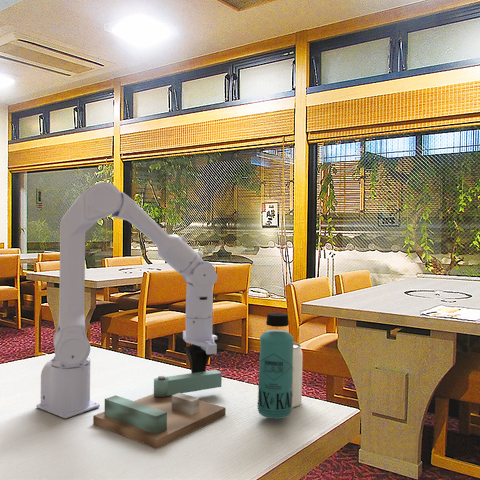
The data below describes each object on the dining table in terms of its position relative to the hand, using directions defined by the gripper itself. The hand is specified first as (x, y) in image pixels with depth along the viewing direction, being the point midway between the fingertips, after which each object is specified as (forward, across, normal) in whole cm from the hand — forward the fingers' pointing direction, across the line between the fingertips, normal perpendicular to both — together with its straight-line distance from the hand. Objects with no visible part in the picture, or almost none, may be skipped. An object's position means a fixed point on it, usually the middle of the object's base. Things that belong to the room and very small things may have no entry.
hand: (198, 379), depth 106 cm
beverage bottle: (+3, -19, -8) cm, 21 cm away
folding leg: (+1, -2, +3) cm, 4 cm away
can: (+3, -12, -14) cm, 19 cm away
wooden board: (+3, -10, +11) cm, 16 cm away
